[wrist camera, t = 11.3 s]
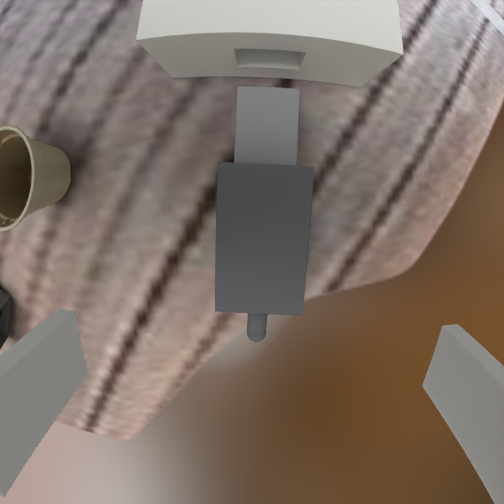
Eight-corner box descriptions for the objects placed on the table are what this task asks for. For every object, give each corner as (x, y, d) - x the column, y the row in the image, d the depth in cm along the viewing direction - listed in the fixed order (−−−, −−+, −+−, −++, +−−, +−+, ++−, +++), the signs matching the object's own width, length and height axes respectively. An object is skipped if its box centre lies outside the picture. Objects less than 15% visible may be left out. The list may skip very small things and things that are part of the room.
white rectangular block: (183, -3, 23) (157, -56, 14) (356, 6, 23) (388, -43, 14) (172, 78, 26) (135, 40, 16) (360, 87, 26) (403, 54, 16)
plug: (232, 103, 26) (222, 75, 18) (299, 106, 26) (316, 80, 18) (226, 317, 31) (215, 365, 23) (286, 320, 31) (295, 368, 22)
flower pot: (34, 125, 27) (-16, 119, 18) (95, 141, 27) (45, 134, 19) (17, 203, 29) (-33, 214, 21) (73, 227, 30) (24, 245, 21)
